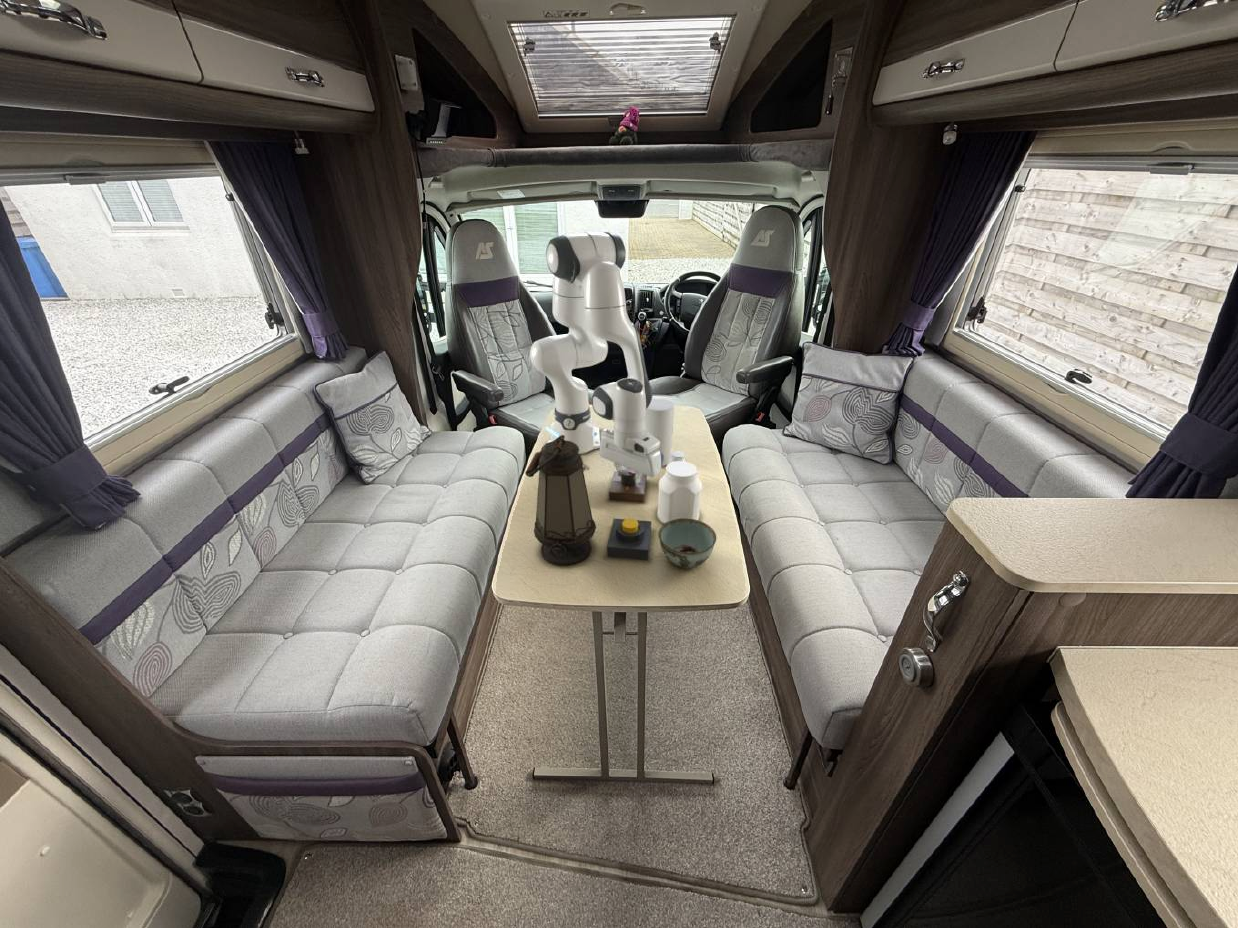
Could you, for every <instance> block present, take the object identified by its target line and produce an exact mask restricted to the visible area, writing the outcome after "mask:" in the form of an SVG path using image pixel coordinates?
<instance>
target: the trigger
mask: <svg viewBox="0 0 1238 928" xmlns="http://www.w3.org/2000/svg"><path fill="white" fill-rule="evenodd" d="M625 519H626V520H624V521H623V522H622V530H623V531H624V532H625V533H636V532H637V531H638V522H637V521H636V520H637V519H634V518H625Z"/></svg>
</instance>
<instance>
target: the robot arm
mask: <svg viewBox="0 0 1238 928" xmlns="http://www.w3.org/2000/svg"><path fill="white" fill-rule="evenodd" d="M626 249H627V248H626V245H625V242H624V240H623V239H622V237H621V236H620V235H619V234H617V233H614V232H608V231H605V232H595V231H592V232H591V231H590V232H587V231H586V232H583V233H582V232H581V233H575V234H573V233H572V234H569V235H564V234H562V235H558V236H555V237H553V238H551V239H550V240H549V242H548V243H547V245H546V249H545V257H546V259H545V260H546V264H547V268H548V270H549V272H550V273H551V274H552V275H553V276H552V303H551V304H552V305H551V306H552V307H551V308H552V311H551V312H552V316H553V318H554V319H555V321H556V323H557V322H558V323H559V324H560V325H561V326H565V327H566V328H568V333H565V334H558V335H552V336H551V335H550V336H546V337H543V338H540V339H537V340H535V341H534V342H533V343H532V344H531V347H530V350H529V359H530V362H531V364H532V367H534V369H535V370H537V371H538V372H539V373H541V374H543V375H544V376H545V377H546V378H547V379H548V380H549V382H550V384H551V385H552V388H553V394H554V403H555V407H554V413H553V415H554V421H553V422H552V423H551V425H550V427H551V428H549V427H547V426H545V430H546V431H547V432H549V433H550V434H551V438H549V439H548V440H547V443H549V442H552V441H554V440H555V439H557V438H558V437H559V436H561V435H564V436H565V438H564V440H566V441H571V442H573V443H575V444H576V445H577V446H578V447H579V452H578V453H579V454H580V455H582V454H586V453H588V452H591V451H593V450H596V449H599V455H600V457H601V458H602V459H604V460H607V461H610V462H612V463H613V466H614V468H615V469H616V471H617V475H618V476H620V477H621V471H622V470H623V469H624V468H623V467H625V468H629V469H632V470H634V471H636V474H637V475H636V476H634V477H633V482H634V483H637V484H638V483H639V482H640V477H641V476H642V474H644V475H647V477H649V478H654V477H656V476H657V475H659V474H660V473H661V469H662V466H661V454H660V451H659V450H658V449H657V448H658V447H660V441H659V440H658V439H657V438H655V437H654V436H653V435H651V434H650V433H649V432H648V431H647V430H645V423H644V418H645V415H646V409H647V408H648V406H649V405H650V403H651V400H652V399H653V389H652V386H651V382H650V380H649V377H648V373H647V368H646V362H645V357H644V352H643V347H642V341H641V337H640V333H639V331H638V327H637V326H636V324H634V322H632V321H631V320H630V318H629V315H628V311H627V302H626V293H625V285H624V279H623V275H622V271H621V270H622V268H623V267H624V265H625V262H626V258H627V250H626ZM608 342H611V343H614V344H616V345H618V346H619V347H620V348H621V349H622V352H623V356H624V359H625V360H624V361H625V365H626V370H627V371H626V372H627V377H625V378H621V379H619V380H617V381H616V382H615V381H614V382H609V383H606V384H601V385H599V386H597V387H595V388H594V391H593V393H592V396H591V406H592V410H593V412H594V413H595V414H596V415H597V416H599V417H600V418H602V419H604V420H608V421H612V422H613V423H614V424H613V430H612V429H609V428H604V429H602V430H601V433H600V428H599V427H597V426H595V425H594V418H593V416H591V408H590V402H589V388H588V385H587V384H586V382H585V381H584V380H582V379H581V378H578V377H575V376H573V374H572V371H573V370H575V369H582V368H587V367H588V368H589V367H592V366H594V365H598V364H600V363H602V362H604V361H605V360H606V358H607V356H608V353H609V344H608Z"/></svg>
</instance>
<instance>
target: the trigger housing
mask: <svg viewBox="0 0 1238 928" xmlns="http://www.w3.org/2000/svg"><path fill="white" fill-rule="evenodd" d="M626 519H627V518H613V519H612V524H611V529H610V533H609V537H608V541H607V546H606V556H607V558H615V559H626V560H638V561H649V553H650V543H651V536H652V535H651V534H652V521H651V520H641V519H638V520H637V519H635V520H636V521H637V522H638V531H637V532H636V533H625V532H624V531H623V530H622V522H623V521H624V520H626Z"/></svg>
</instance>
